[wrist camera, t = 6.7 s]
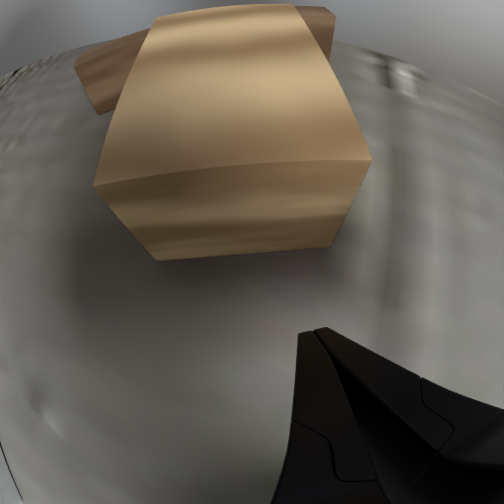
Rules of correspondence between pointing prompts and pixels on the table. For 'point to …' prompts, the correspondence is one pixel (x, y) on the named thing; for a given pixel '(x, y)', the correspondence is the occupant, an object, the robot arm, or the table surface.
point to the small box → (7, 485)
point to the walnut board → (127, 48)
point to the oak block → (231, 137)
